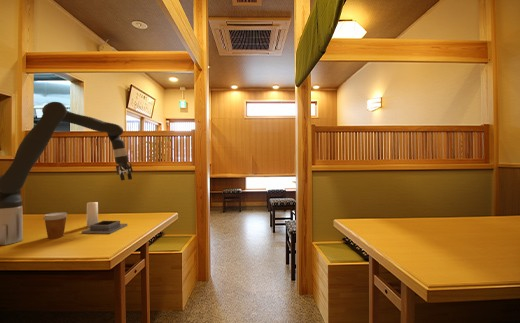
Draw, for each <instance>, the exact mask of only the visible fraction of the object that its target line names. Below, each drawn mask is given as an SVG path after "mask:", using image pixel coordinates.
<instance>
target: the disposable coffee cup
mask: <svg viewBox="0 0 520 323" xmlns="http://www.w3.org/2000/svg"><path fill="white" fill-rule="evenodd" d="M67 217H68V213H67V212H63V211H61V212H60V211H59V212H51V213H47V214H46V213H45V214H44V217H43V220H44V224H45V225H44V226H45V230H46V235H47V239H48V240H54V239H60V238H62V237H65V236H64V235H65V230H66V222H67Z"/></svg>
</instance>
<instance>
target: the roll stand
mask: <svg viewBox="0 0 520 323" xmlns="http://www.w3.org/2000/svg"><path fill="white" fill-rule="evenodd" d="M127 226H128V223H121V220H101V221H98V223H95V224H93V225H90V227H88V228H87V229H84V230H82V231H81V234H82V233H97V235H98V234H100V235H103V234H104V235H107V234H109V235H111V234H113V233H115V232H117V231H120V230H122V229H124V228H125V227H127Z"/></svg>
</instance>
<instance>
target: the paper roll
mask: <svg viewBox="0 0 520 323" xmlns="http://www.w3.org/2000/svg"><path fill="white" fill-rule="evenodd" d="M98 222H99V202H98V201H95V202H93V201H92V202H87V203H86V227H87V228H90V225H93V224H95V223H98Z"/></svg>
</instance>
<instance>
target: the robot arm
mask: <svg viewBox="0 0 520 323" xmlns="http://www.w3.org/2000/svg"><path fill="white" fill-rule="evenodd" d="M41 112H42V115H41V117H40V118H39V121H38V122H37V123H36V124H35V125H34V126H33V127H32V128H31V129H30V130H29V132H28V133H27V134H26V135H25V137H24V138H22V141H21V142H20V143H19V145H18V148H17V150H16V153H15V156H14V157H13V159H12V160H13V161H12V162H11V163H10V166H9V167H8V169H6V171H5V173H3V174H1V175H0V246H7V245H12V244H15V243H19V242H21V241H23V240H24V238H23V236H24V234H23V232H24V231H23V229H24V228H23V225H24V224H23V222H24V221H23V218H24V217H23V213H24V212H23V208H24V207H23V198H22V188H23V187H24V185H25V183H26V180H27V178H28V176H29V173H30V172H31V170H32V168H33V167H34V166H35V165H36V163H37V162H38V161H39V159H40V157H41V156H42V154H43V153H44V151H45V150H46V147H47V145H48V144H49V142H50V140H51V138H52V137H53V135H54V133H55V131H56V129H57V127H58V125H59V124H60V123H61V122H63V123H69V124H72V125H73V124H74V125H76V126H80V127H83V128H86V129H90V130H91V131H94V132H95V131H96V132H99V133H107V137H108V139H109V141H110V143H111V145H112V146H111V147H112V150H113V151H112V152H113V156H114V160H115V164H116V165H115V169H116V173H117V174H116V175H119V178H120V180H121V181H122V182H123V181H125V180H126V179H125V175H124V174H125V173H126V174H127V175H126V176H127V180H128V181H129V180H132V179H133V176H132V173H133V172H134V171H133V170H134V169H133V167H132V163H129V162H130V160H129V156H128V151H127V148H126V145H125V141H124V140H123V139H122V138H121V135H123V133H124V129H123V127H122V126H121V125H119V124H116V123H112V122H108V121H107V122H106V121H104V120H101V119H98V118H95V117H91V116H88V115H87V116H86V115H83V114H78V113H74V112H73V111H70V110H68V109H67V107H66V105H65V104H63V103H62V102H60V101H51V102H48V103H46V104H45V105H44V106H43V107H42V109H41Z"/></svg>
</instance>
